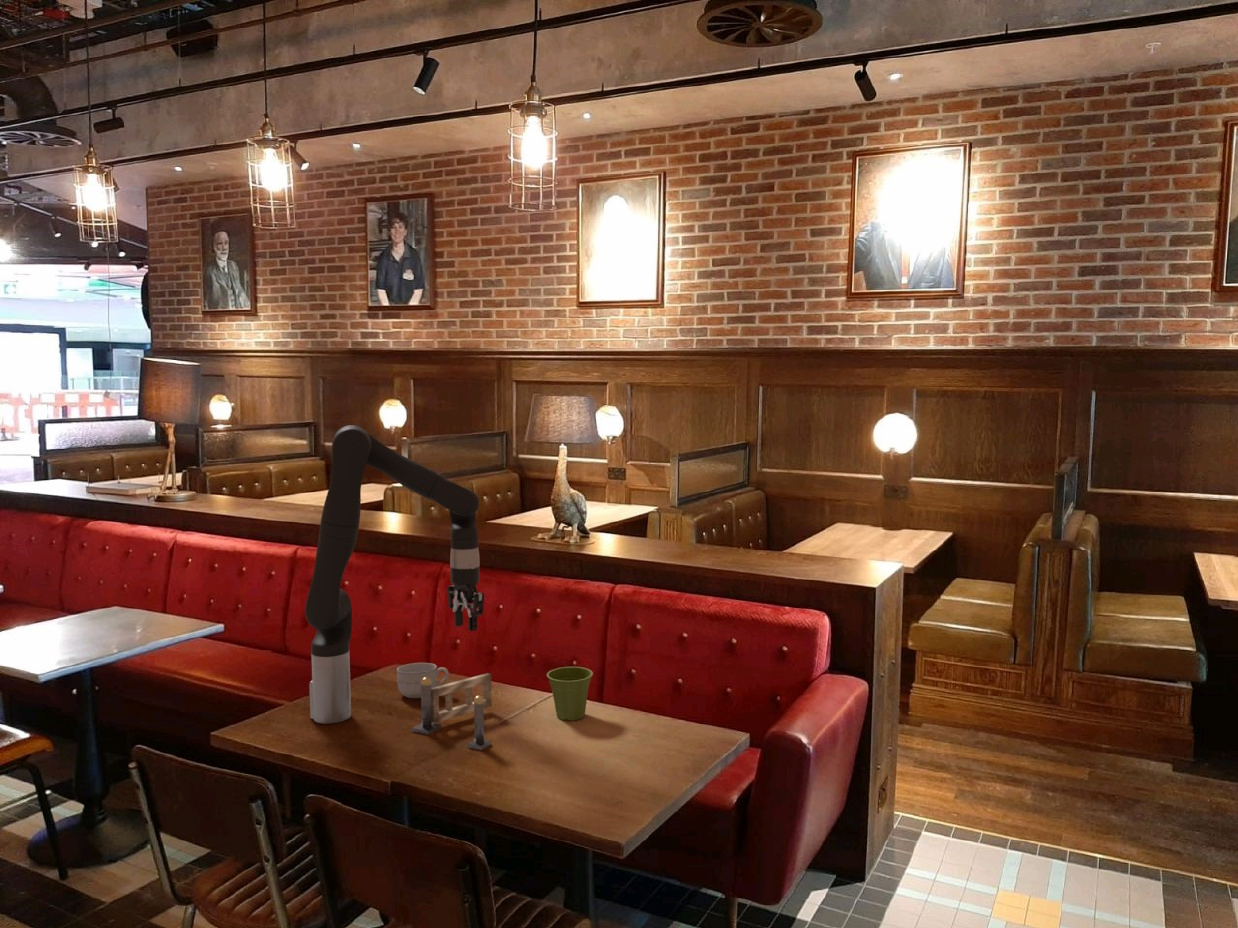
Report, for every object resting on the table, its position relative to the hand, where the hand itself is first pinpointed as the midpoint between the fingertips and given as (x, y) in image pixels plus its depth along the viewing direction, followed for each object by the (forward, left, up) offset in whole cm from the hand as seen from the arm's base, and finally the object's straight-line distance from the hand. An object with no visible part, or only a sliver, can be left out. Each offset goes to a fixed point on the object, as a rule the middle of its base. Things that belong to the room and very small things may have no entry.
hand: (465, 627), depth 241 cm
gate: (+4, -7, -20) cm, 22 cm away
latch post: (+18, -20, -22) cm, 34 cm away
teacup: (-17, +3, -22) cm, 28 cm away
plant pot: (+27, +7, -22) cm, 35 cm away
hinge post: (0, -17, -22) cm, 27 cm away
